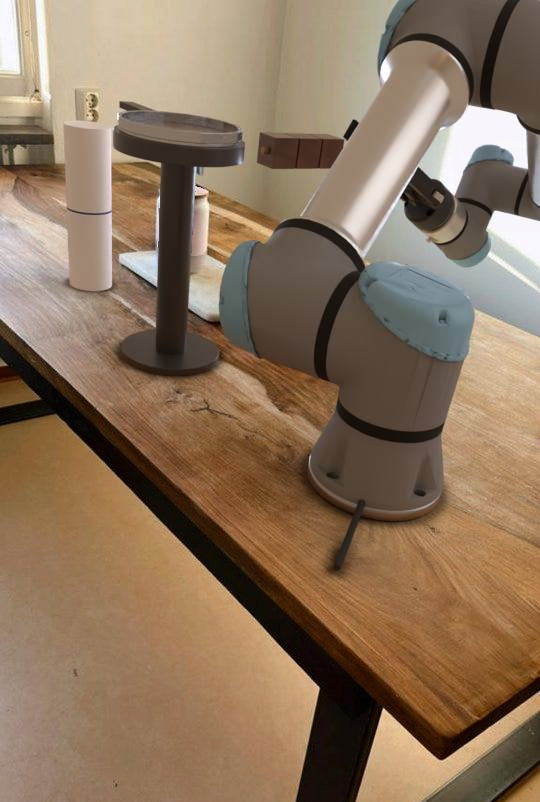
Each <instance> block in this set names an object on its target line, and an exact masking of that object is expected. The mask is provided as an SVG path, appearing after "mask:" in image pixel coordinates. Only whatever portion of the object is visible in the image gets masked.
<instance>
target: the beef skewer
mask: <svg viewBox="0 0 540 802" xmlns="http://www.w3.org/2000/svg"><path fill="white" fill-rule="evenodd" d="M344 146H345V138H342V137H338V136H335V135H332V134H328V133H303V132H302V133H301V132H299V133H298V132H271V131H270V132H267V131H266V132H265V131H260V132H259V136H258V147H257V156H256V163H257V164H258V165H261V166H264V167H266V168H268V169H271V170H295V169H296V170H318V169H319V170H330V168H331V167H332V165H333V164H334V162H335V160H336V159H337V157H338V156H339V154H340V152H341V151H342V149H343V148H344Z"/></svg>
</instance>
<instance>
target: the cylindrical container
mask: <svg viewBox="0 0 540 802" xmlns="http://www.w3.org/2000/svg"><path fill="white" fill-rule="evenodd" d="M62 125H63V126H62V127H63V128H62V129H63V148H64V149H63V152H64V170H65V171H64V176H65V200H66V226H67V249H68V273H69V275H68V276H69V278H68V279H69V285H70V286H71V287H72V288H74V289H77V290H80V291H86V292H101V291H106V290H109V289H111V288H112V286H113V230H112V229H113V226H112V225H113V221H112V220H113V215H112V213H113V210H112V207H113V205H112V204H113V203H112V202H113V201H112V199H113V198H112V188H113V187H112V126H111V125H110V124H106V123H102V122H97V121H89V120H78V119H77V120H76V119H73V120H64V121H63V122H62Z"/></svg>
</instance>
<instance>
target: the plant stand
mask: <svg viewBox="0 0 540 802" xmlns="http://www.w3.org/2000/svg"><path fill="white" fill-rule="evenodd" d="M118 105H119V106H118V108H119V109H122V110H123V111H120V112H117V124H116V125H115V126H113V127H112V147H113V149H114V150H116V151H117V152H119V153H121V154H123V155H126V156H129V157H133V158H136V159H140V160H143V161H149V162H154V163H158V164H160V175H159V176H160V178H159V179H160V180H159V181H160V182H159V184H160V208H159V207H158V213H159V241H158V240H157V241H158V247H157V276H156V305H155V306H156V310H155V328H154V329H146V330H141V331H138V332H135V333H132V334H129V335H128V336H126V337H124V339H123V340H122V342H121V345H120V353H121V355H120V356H121V357H122V359H123V360H124V361H125V362H126V363H127V364H128V365H130V366H131V367H133V368H135V369H137V370H140V371H142V372H146V373H148V374H149V373H150V374H154V375H159V376H166V377H167V376H169V377H184V376H185V377H186V376H194V375H198V374H202V373H205V372H207V371H210V370H212V369H213V368H214V367H215V366H217V364H218V363H219V362H218V361H219V356H220V351H219V348H218V346H217V345H216V344H215V343H214V342H213V341H212V340H210V339H208V338H207V337H206V336H202V335H200V334H197V333H194V332H190V331H188V321H189V320H188V319H189V304H190V302H189V301H190V284H191V268H192V254H191V253H192V235H193V228H194V224H193V218H194V213H195V200H196V199H195V192H196V191H195V184H196V182H197V173H196V167H204V168H228V167H229V168H230V167H234V166H239V165H242V164H243V163H244V161H245V149H246V142H245V141H244V140H243V133H244V129H243V128H241V126H240V125H237V124H235V123H232V122H229V121H226V120H222V119H217V118H213V117H209V116H203V115H197V114H191V113H190V114H189V113H183V112H172V111H165V110H156V109H153V108H150V107H148V106H145V105H142V104H140V103H137V102H134V101H123V100H119V103H118Z"/></svg>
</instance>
